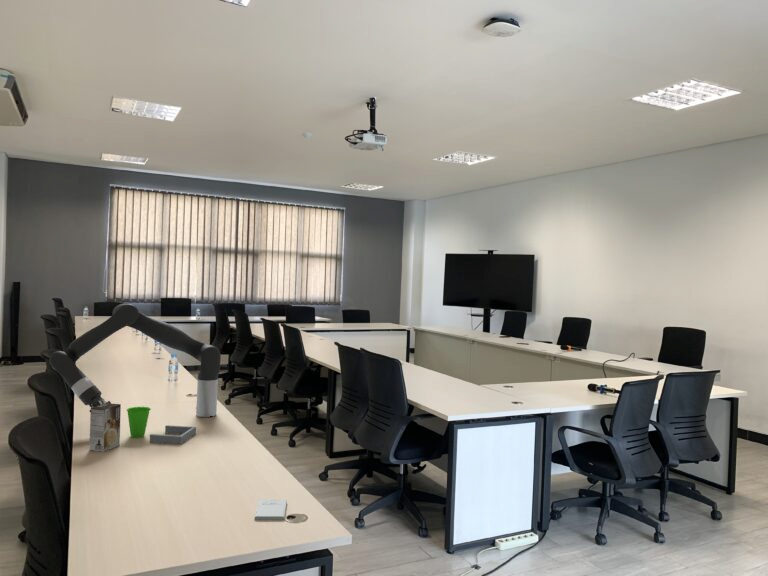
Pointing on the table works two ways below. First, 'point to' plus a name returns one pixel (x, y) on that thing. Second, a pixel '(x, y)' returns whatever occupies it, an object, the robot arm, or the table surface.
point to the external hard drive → (270, 510)
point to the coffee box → (105, 427)
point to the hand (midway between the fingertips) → (114, 422)
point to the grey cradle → (173, 439)
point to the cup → (138, 420)
